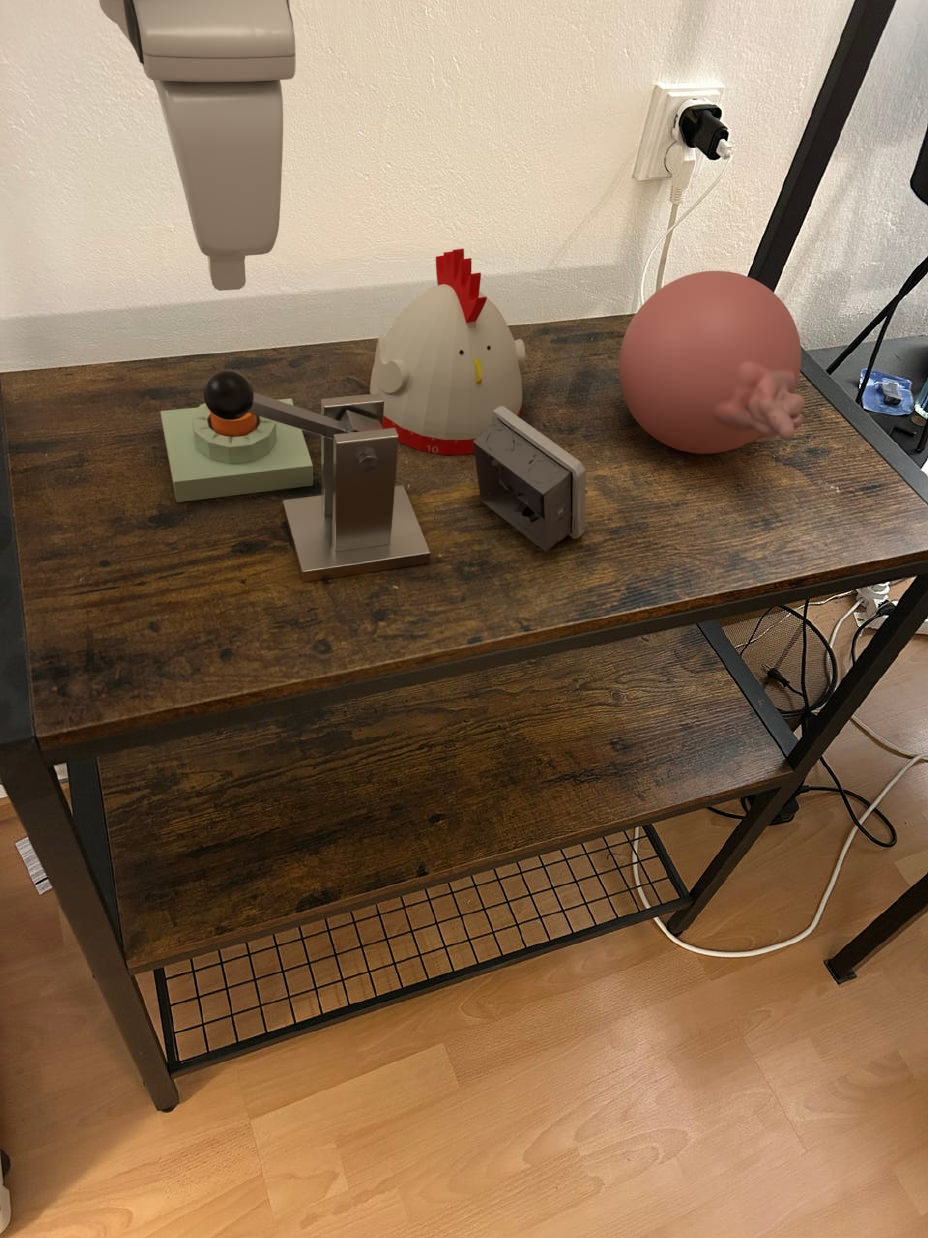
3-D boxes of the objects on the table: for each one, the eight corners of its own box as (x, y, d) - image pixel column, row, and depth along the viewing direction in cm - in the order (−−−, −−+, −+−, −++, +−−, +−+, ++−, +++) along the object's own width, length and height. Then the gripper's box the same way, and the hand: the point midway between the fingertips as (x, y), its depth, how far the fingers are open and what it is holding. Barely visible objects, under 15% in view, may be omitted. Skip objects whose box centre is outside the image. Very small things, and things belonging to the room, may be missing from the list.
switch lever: (199, 421, 62) (219, 383, 61) (192, 391, 64) (212, 353, 62) (369, 473, 70) (392, 440, 68) (359, 444, 72) (380, 412, 70)
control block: (176, 502, 77) (170, 464, 74) (163, 431, 83) (157, 392, 80) (313, 485, 80) (312, 448, 77) (292, 418, 86) (290, 380, 83)
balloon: (663, 536, 81) (721, 383, 69) (577, 391, 93) (614, 240, 81) (820, 513, 85) (899, 365, 74) (718, 377, 97) (772, 232, 85)
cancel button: (215, 440, 77) (213, 422, 76) (208, 412, 79) (206, 394, 78) (260, 435, 78) (259, 418, 77) (252, 408, 80) (251, 390, 79)
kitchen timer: (402, 467, 83) (414, 312, 72) (347, 374, 91) (351, 220, 79) (544, 438, 88) (577, 288, 76) (481, 352, 95) (503, 204, 84)
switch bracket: (302, 582, 73) (300, 462, 64) (282, 510, 78) (277, 389, 69) (429, 563, 76) (443, 445, 67) (402, 495, 81) (412, 376, 72)
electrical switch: (585, 538, 80) (601, 455, 72) (541, 570, 77) (554, 487, 70) (504, 477, 84) (513, 392, 76) (461, 506, 81) (465, 421, 74)
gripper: (104, -101, 51) (141, 165, 61) (145, 54, 38) (183, 353, 49) (227, -96, 52) (242, 162, 63) (304, 54, 40) (307, 343, 50)
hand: (217, 247), depth 56 cm, fingers open, 6 cm apart
